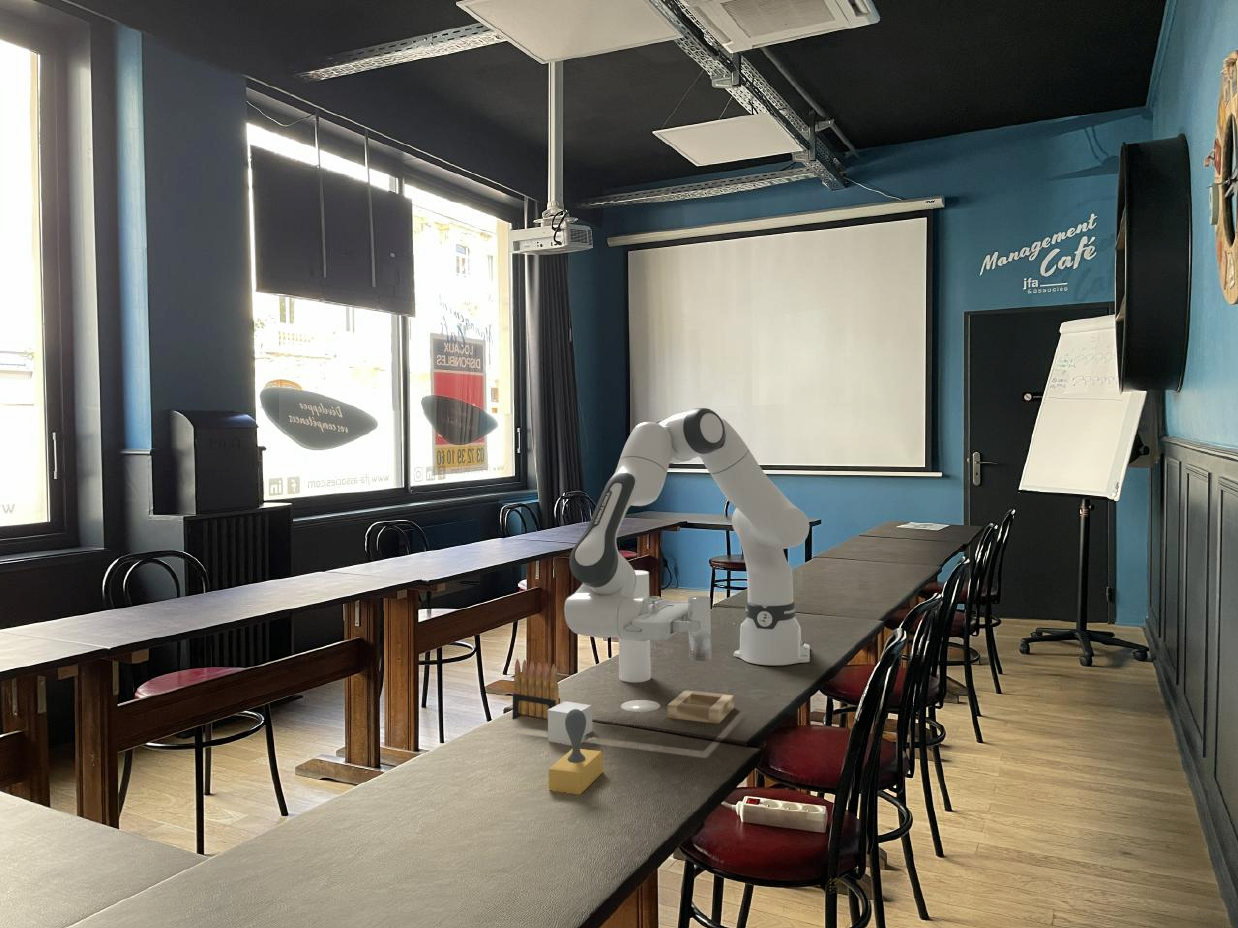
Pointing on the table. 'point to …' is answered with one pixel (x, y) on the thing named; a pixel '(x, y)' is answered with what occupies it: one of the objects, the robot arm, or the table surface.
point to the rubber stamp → (575, 760)
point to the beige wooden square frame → (701, 706)
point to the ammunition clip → (534, 691)
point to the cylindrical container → (636, 643)
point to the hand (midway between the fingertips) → (703, 623)
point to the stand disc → (640, 706)
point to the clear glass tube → (702, 637)
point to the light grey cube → (557, 721)
